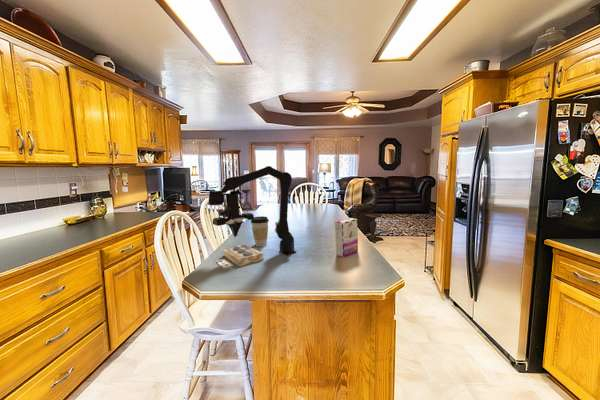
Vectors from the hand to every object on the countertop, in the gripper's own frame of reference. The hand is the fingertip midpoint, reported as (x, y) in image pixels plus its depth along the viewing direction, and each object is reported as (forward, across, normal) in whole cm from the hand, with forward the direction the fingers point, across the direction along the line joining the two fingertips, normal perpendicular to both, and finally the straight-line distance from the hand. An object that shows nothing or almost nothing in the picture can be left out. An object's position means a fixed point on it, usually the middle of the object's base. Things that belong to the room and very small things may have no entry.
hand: (235, 236), depth 129 cm
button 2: (+8, -1, +9) cm, 12 cm away
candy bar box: (+11, -40, +34) cm, 54 cm away
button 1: (+8, -2, -2) cm, 8 cm away
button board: (+10, -2, +3) cm, 11 cm away
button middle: (+8, -2, +3) cm, 9 cm away
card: (+10, +8, +4) cm, 14 cm away
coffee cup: (+10, -19, -9) cm, 23 cm away
